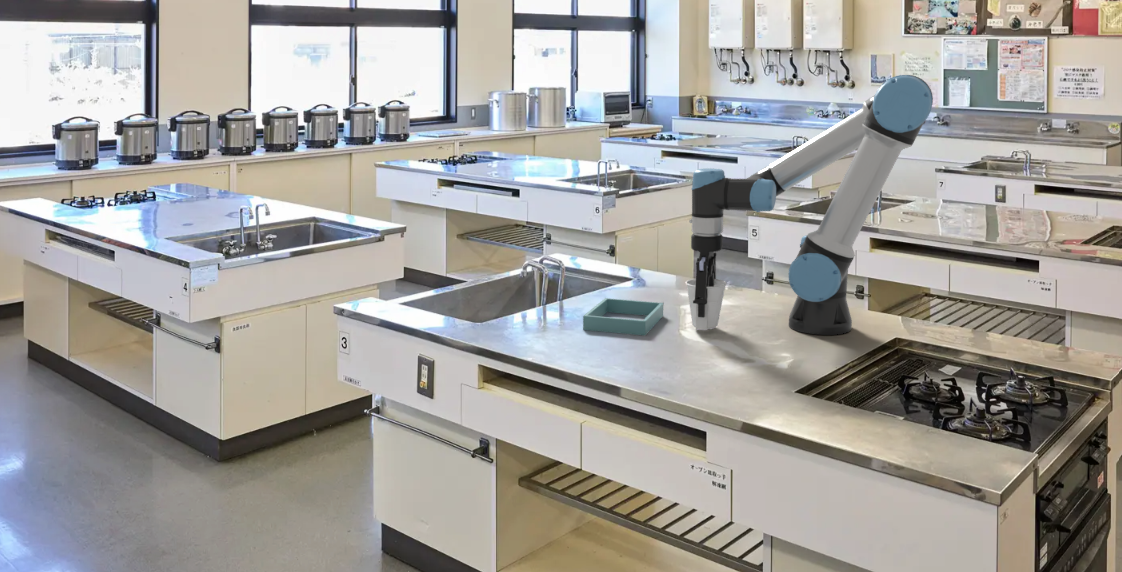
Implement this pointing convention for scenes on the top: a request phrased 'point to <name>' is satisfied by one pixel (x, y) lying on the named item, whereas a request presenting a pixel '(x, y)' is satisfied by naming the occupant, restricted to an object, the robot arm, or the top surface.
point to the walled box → (619, 325)
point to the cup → (713, 301)
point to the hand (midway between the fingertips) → (705, 324)
